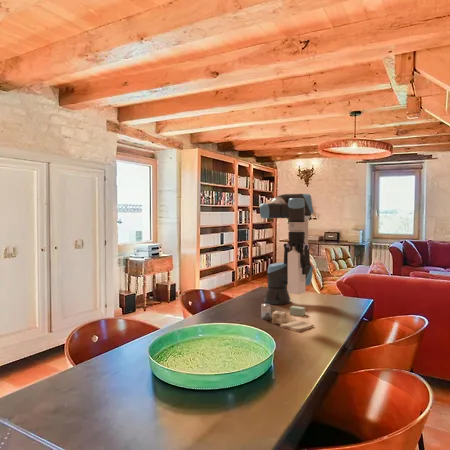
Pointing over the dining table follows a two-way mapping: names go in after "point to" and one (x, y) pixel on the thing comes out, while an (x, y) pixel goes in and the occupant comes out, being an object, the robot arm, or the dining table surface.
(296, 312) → the sage block
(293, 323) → the plate
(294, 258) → the milk
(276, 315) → the beech cube
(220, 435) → the dining table surface
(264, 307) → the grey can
